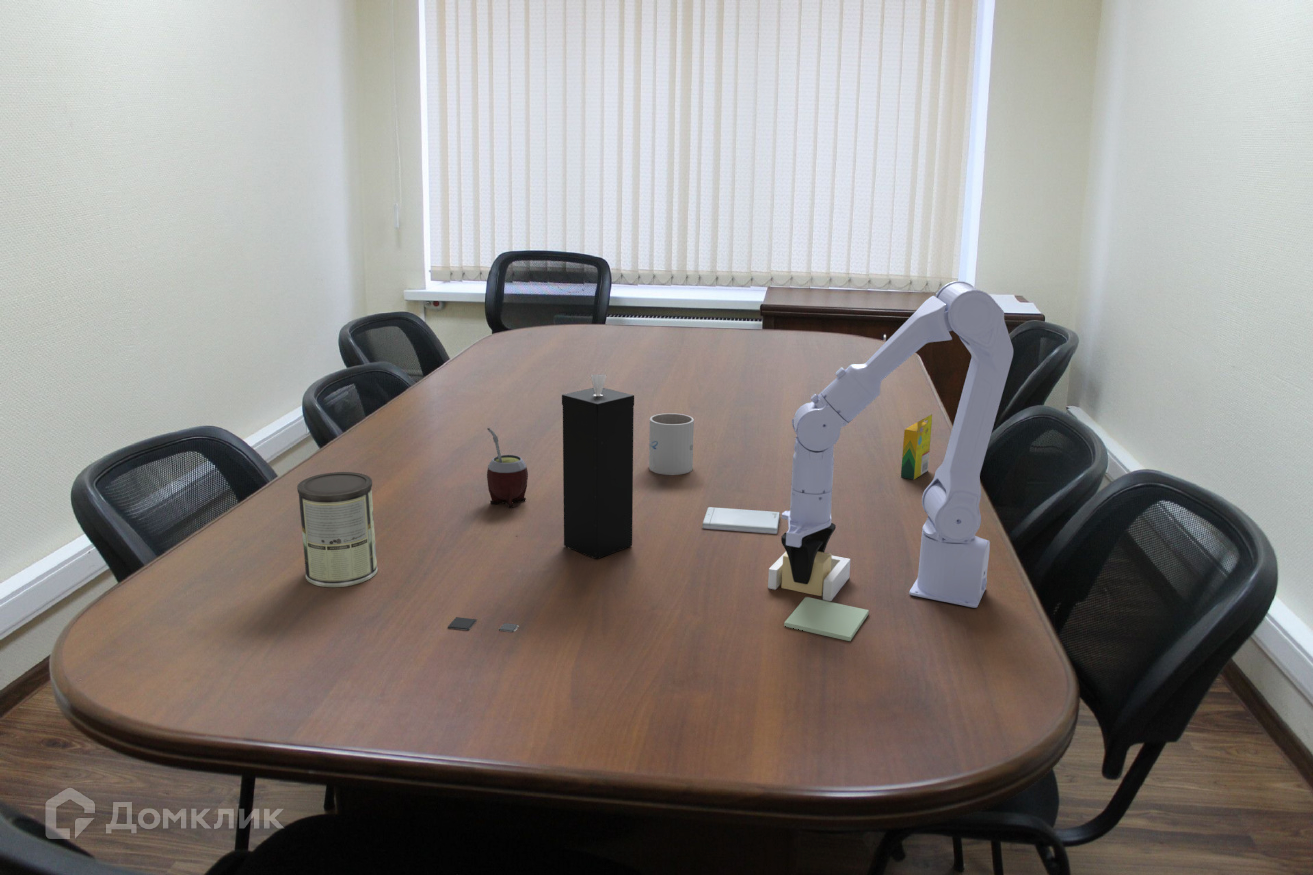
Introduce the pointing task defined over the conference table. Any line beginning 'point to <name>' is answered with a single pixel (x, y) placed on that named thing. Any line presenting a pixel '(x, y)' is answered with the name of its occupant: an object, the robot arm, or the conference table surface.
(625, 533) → the tall black box
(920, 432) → the crayon box
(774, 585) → the frame
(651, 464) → the mug
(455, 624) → the black square blocks
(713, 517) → the hard drive
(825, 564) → the block
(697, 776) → the conference table surface
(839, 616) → the mat
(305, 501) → the coffee can
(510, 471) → the mate gourd
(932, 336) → the robot arm
